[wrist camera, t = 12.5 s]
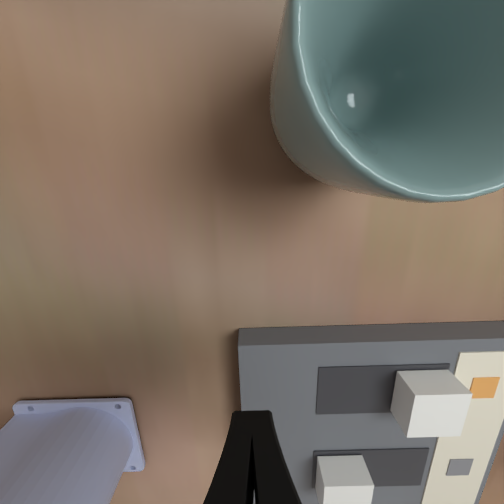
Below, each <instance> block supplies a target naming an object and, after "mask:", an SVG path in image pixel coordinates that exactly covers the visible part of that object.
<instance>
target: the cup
mask: <svg viewBox="0 0 504 504" xmlns="http://www.w3.org/2000/svg"><path fill="white" fill-rule="evenodd" d="M270 117H271V121H272V125H273V129H274V133H275V135H276V137H277V139H278V142H279V144H280V146H281V148H282V149H283V151H284V152H285V153H286V155H287V156H288V157H289V159H290V160H291V161H292V162H293V163H294V164H295V165H296V166H297V167H299V168H300V169H301V170H302V171H303V172H305V173H306V174H308V175H309V176H311V177H312V178H314V179H315V180H318V181H320V182H322V183H325V184H327V185H330V186H332V187H335V188H338V189H341V190H345V191H350V192H355V193H360V194H366V195H371V196H377V197H383V198H388V199H394V200H401V201H407V202H416V203H438V202H457V201H464V200H468V199H471V198H475V197H479V196H482V195H486V194H489V193H493V192H496V191H498V190H500V189H502V188H504V0H286V1H285V5H284V10H283V15H282V20H281V25H280V30H279V35H278V40H277V46H276V52H275V57H274V63H273V69H272V75H271V82H270Z"/></svg>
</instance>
